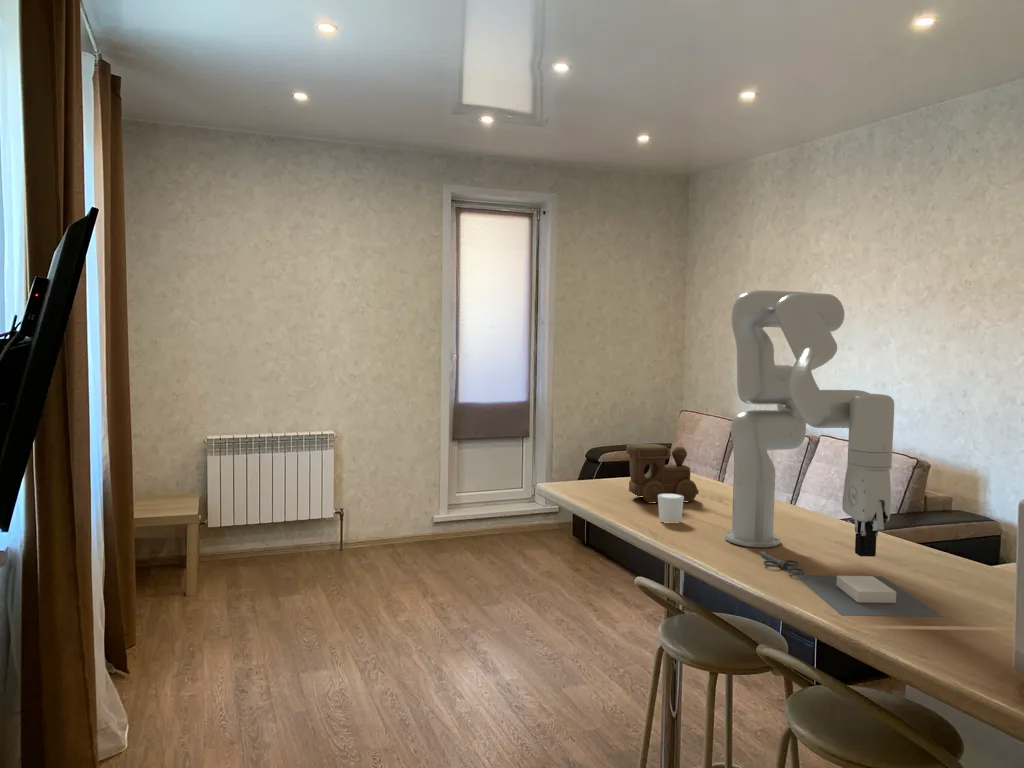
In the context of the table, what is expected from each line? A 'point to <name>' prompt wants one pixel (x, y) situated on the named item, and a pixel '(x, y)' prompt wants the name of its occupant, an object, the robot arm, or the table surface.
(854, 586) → the tile
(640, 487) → the wooden toy train
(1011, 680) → the table surface
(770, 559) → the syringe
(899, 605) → the mat
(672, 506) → the white short tapered cylinder
